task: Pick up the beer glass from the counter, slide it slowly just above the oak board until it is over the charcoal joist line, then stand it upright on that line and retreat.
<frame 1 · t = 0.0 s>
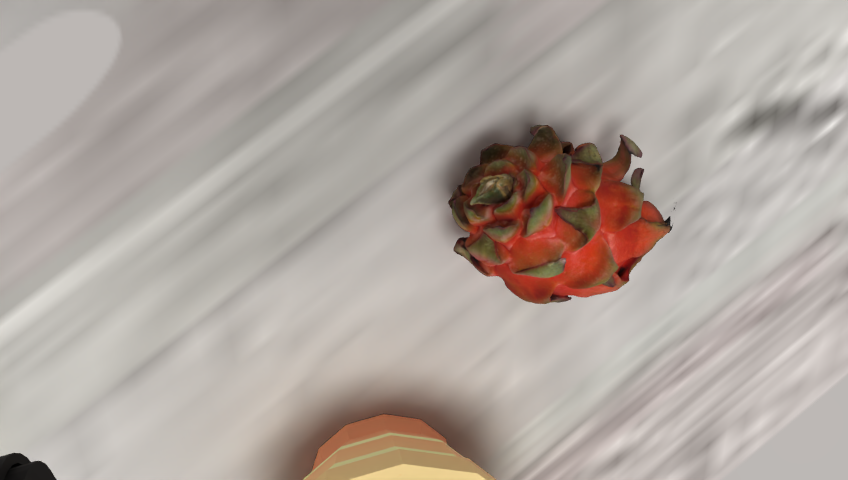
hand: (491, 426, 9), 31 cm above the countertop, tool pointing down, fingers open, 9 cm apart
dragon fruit: (540, 188, 43), on the countertop
potted cactus: (382, 469, 50), on the countertop
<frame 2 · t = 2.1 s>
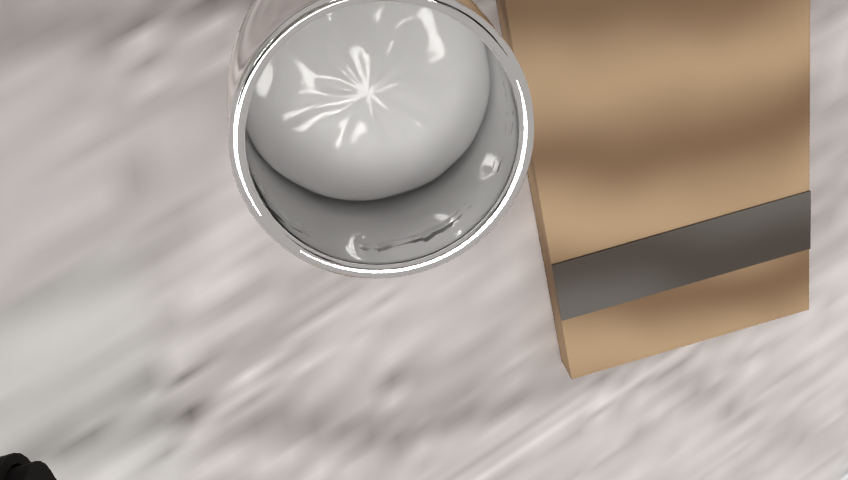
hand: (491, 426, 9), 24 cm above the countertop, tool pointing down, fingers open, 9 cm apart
beer glass: (338, 10, 30), on the countertop
oak board: (658, 122, 34), on the countertop
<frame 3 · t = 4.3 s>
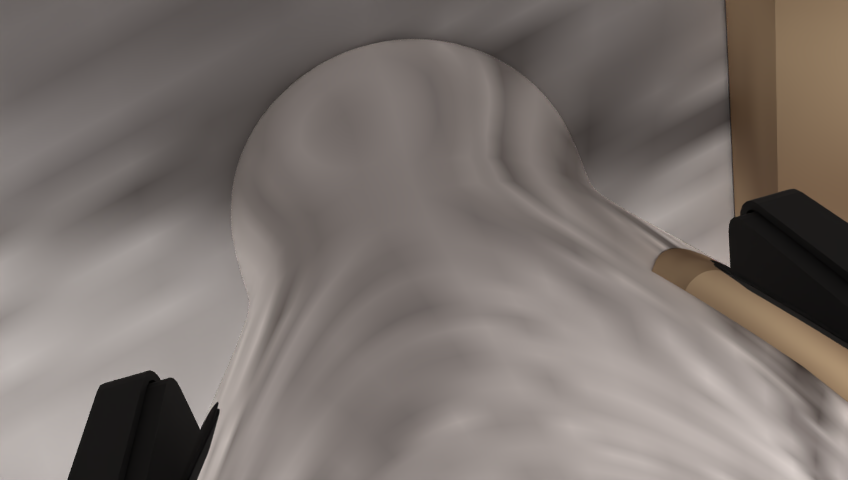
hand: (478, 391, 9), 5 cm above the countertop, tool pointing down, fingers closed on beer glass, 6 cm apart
beer glass: (407, 205, 14), on the countertop, touching gripper
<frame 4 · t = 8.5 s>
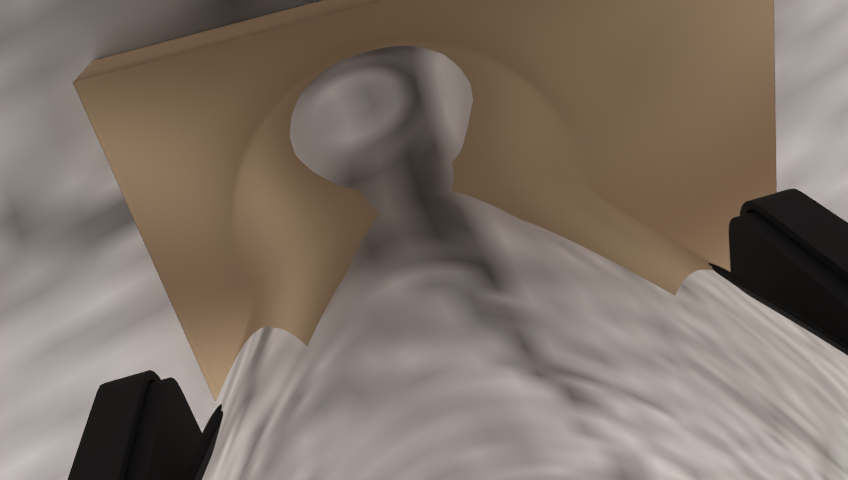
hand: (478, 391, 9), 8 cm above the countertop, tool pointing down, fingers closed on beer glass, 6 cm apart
beer glass: (408, 207, 14), point 2 cm above the countertop, touching gripper
oak board: (515, 427, 20), on the countertop
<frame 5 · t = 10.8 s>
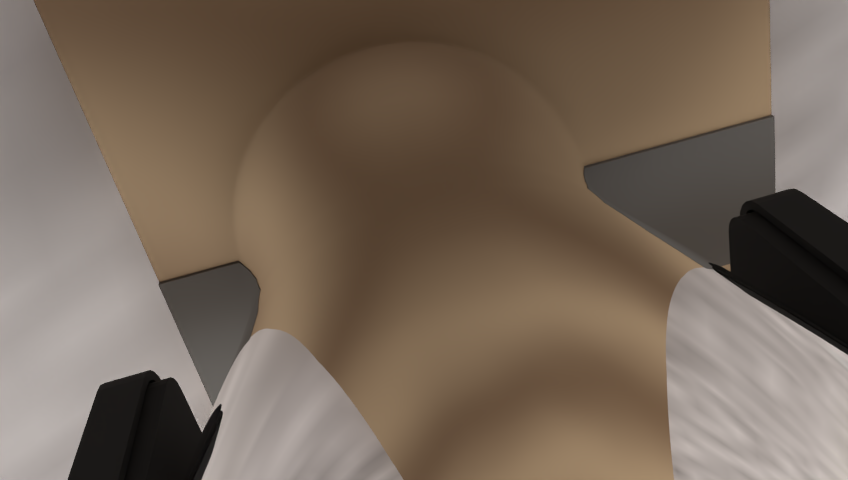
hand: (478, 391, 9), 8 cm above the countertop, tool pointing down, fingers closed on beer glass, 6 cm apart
beer glass: (408, 207, 14), point 2 cm above the countertop, touching gripper
when the fingers open (7 cm above the countertop, at t = 12.7 s): beer glass stays where it is, resting on oak board.
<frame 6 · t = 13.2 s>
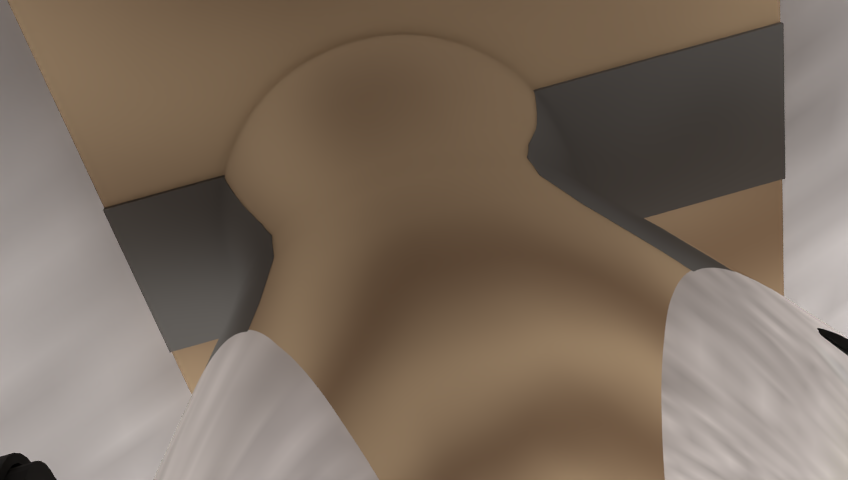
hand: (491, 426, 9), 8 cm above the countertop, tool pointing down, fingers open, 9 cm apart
beer glass: (397, 200, 14), point 1 cm above the countertop, touching oak board
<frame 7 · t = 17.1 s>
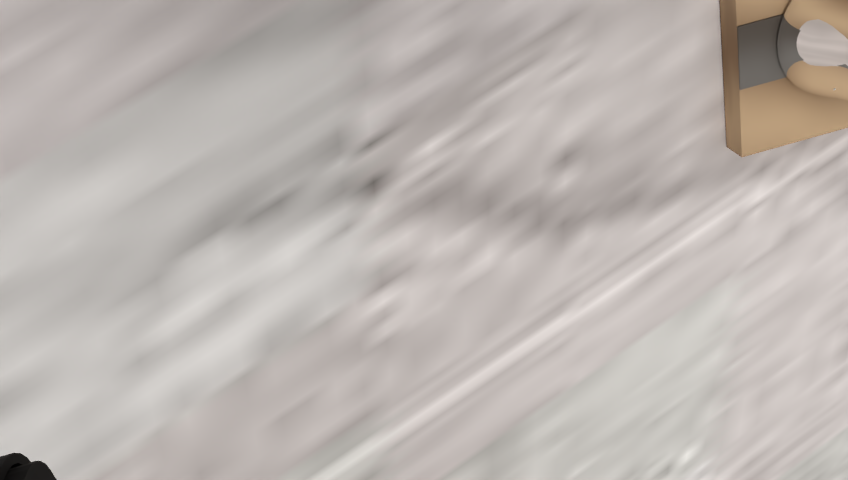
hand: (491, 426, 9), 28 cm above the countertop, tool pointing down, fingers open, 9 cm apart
beer glass: (835, 28, 37), point 1 cm above the countertop, touching oak board
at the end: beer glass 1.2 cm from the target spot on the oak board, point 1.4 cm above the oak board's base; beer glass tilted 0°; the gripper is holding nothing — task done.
